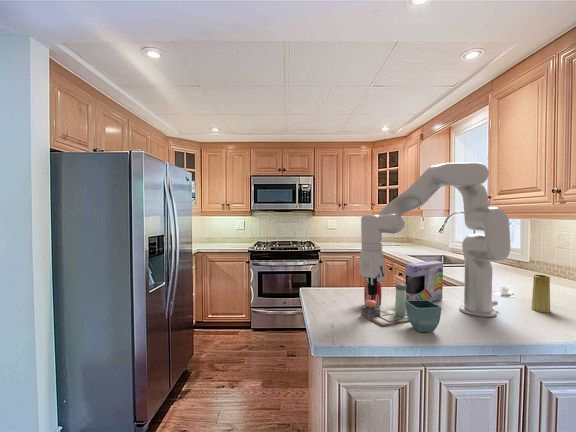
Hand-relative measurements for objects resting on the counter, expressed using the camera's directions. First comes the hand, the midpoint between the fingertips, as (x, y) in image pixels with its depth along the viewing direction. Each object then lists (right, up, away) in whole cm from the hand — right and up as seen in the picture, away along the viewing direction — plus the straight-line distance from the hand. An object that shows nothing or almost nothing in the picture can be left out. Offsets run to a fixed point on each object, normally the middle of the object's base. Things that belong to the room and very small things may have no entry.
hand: (372, 294), depth 117 cm
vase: (+72, -9, +8) cm, 73 cm away
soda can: (+4, -9, +14) cm, 17 cm away
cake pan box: (+28, -9, +20) cm, 36 cm away
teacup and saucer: (+74, -9, +28) cm, 80 cm away
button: (-1, -7, 0) cm, 7 cm away
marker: (+10, -8, -1) cm, 13 cm away
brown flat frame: (+6, -9, -1) cm, 11 cm away
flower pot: (+14, -9, -12) cm, 21 cm away
